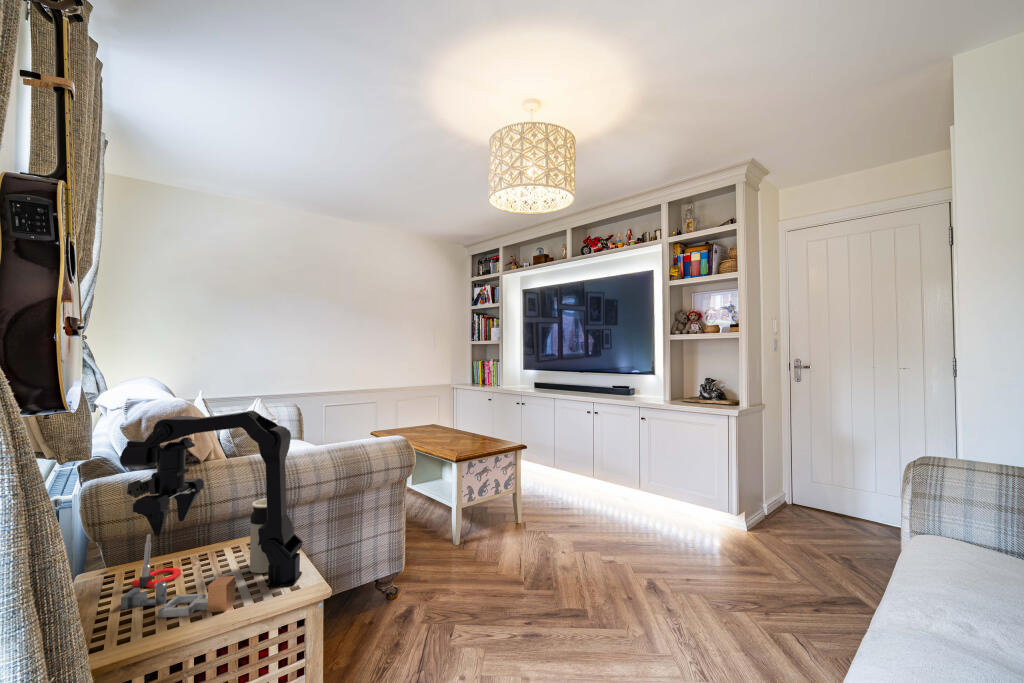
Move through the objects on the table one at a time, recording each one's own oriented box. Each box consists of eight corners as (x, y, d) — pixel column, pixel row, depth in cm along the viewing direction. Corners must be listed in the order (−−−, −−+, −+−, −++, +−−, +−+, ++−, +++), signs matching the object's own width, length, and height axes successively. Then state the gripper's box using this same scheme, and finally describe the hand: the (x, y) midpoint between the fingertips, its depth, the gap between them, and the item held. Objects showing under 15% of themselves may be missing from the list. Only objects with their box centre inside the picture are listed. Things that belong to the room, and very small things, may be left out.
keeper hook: (171, 597, 108) (171, 579, 108) (159, 607, 104) (160, 587, 104) (133, 599, 107) (134, 580, 107) (120, 609, 103) (121, 589, 103)
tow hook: (161, 570, 122) (127, 586, 113) (164, 522, 123) (131, 534, 114) (188, 573, 121) (156, 590, 111) (191, 524, 121) (160, 537, 112)
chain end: (237, 598, 108) (237, 573, 108) (223, 614, 101) (223, 587, 101) (176, 601, 106) (177, 576, 106) (158, 617, 100) (158, 590, 100)
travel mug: (267, 575, 119) (268, 507, 119) (242, 572, 120) (243, 505, 121) (288, 562, 126) (290, 498, 127) (265, 558, 128) (266, 495, 129)
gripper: (162, 458, 122) (160, 515, 122) (107, 477, 104) (106, 545, 103) (205, 457, 123) (204, 514, 123) (159, 476, 105) (158, 543, 105)
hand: (170, 528), depth 113 cm, fingers open, 9 cm apart
